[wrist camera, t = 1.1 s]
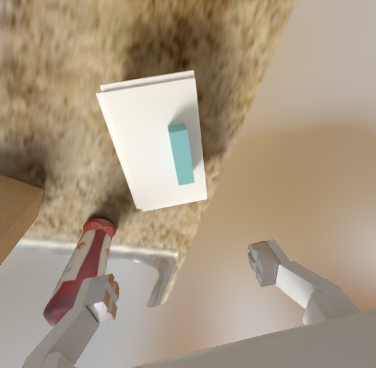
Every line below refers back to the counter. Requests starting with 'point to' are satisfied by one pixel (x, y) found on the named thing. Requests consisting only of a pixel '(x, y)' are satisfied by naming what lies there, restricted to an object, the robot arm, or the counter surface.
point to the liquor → (81, 267)
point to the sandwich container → (16, 211)
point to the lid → (157, 137)
